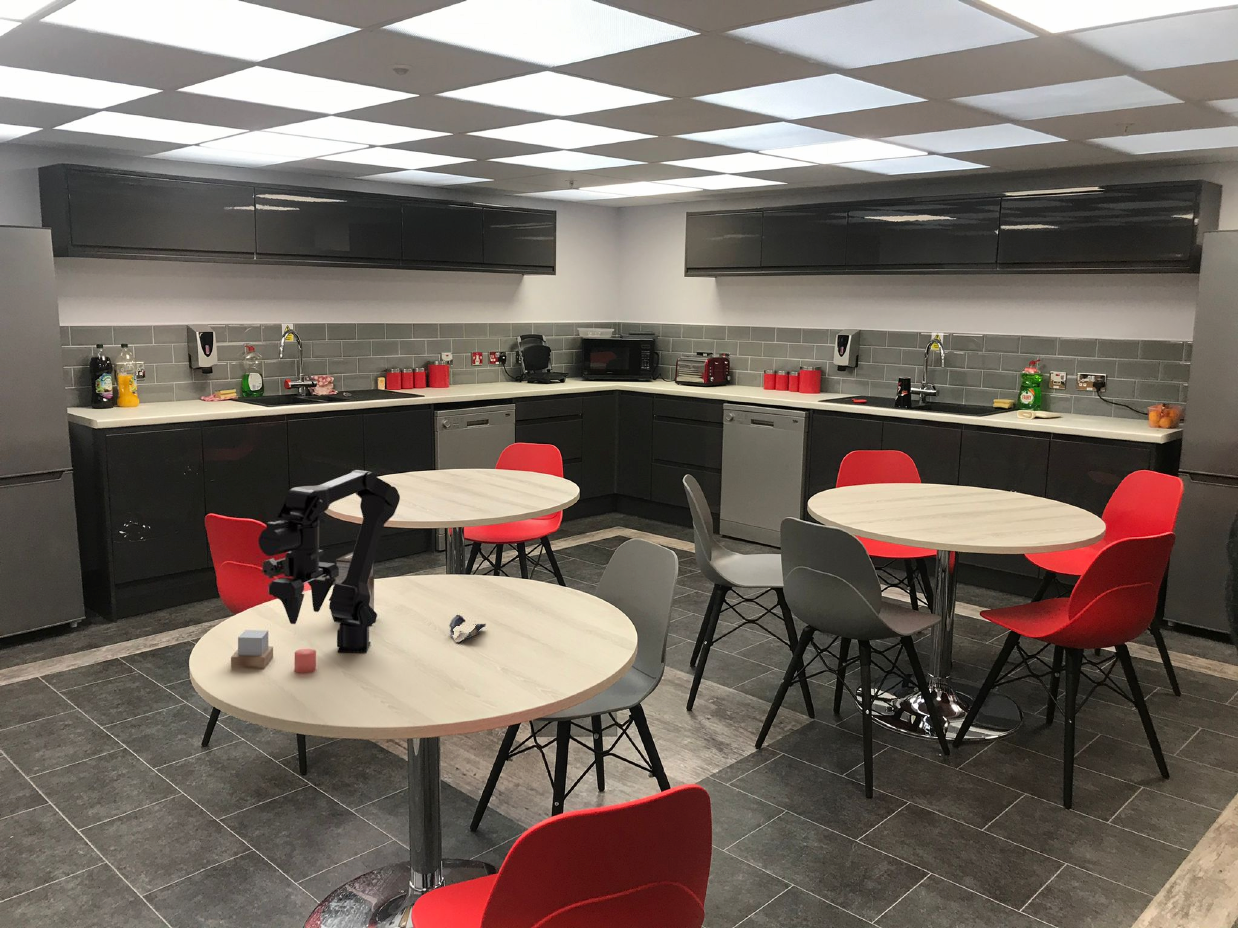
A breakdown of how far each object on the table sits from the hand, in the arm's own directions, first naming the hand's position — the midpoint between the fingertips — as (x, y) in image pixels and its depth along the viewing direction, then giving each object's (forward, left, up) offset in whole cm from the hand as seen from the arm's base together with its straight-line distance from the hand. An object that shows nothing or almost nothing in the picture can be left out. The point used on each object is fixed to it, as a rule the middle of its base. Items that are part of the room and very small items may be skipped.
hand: (304, 617), depth 200 cm
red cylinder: (0, 0, -12) cm, 12 cm away
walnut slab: (+12, -4, -12) cm, 18 cm away
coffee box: (-4, -38, -12) cm, 40 cm away
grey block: (+12, -4, -9) cm, 15 cm away
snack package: (-33, -25, -12) cm, 43 cm away
